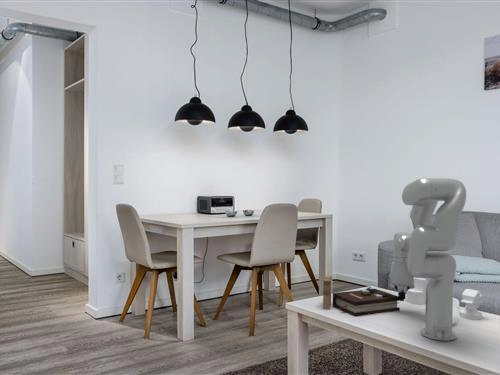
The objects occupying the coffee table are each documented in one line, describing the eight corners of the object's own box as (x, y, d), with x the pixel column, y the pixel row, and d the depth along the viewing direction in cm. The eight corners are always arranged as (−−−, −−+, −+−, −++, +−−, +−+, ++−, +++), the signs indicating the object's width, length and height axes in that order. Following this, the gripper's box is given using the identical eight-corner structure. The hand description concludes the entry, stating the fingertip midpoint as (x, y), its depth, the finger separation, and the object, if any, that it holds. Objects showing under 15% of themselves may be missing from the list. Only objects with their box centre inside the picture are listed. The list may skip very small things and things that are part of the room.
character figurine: (485, 317, 193) (486, 290, 193) (474, 321, 187) (475, 293, 187) (466, 313, 200) (466, 286, 200) (454, 316, 194) (455, 289, 194)
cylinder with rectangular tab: (403, 301, 218) (403, 277, 218) (411, 298, 224) (412, 275, 224) (420, 305, 211) (420, 280, 211) (429, 302, 217) (429, 278, 217)
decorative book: (327, 291, 208) (377, 286, 220) (326, 307, 208) (377, 301, 220) (352, 301, 190) (405, 295, 202) (352, 318, 190) (405, 311, 202)
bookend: (330, 309, 202) (330, 281, 202) (323, 308, 203) (323, 280, 203) (331, 303, 213) (332, 276, 213) (324, 302, 214) (325, 276, 214)
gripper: (418, 259, 202) (418, 299, 202) (384, 258, 206) (384, 297, 206) (421, 262, 195) (420, 304, 195) (385, 260, 198) (385, 301, 198)
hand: (401, 300), depth 200 cm, fingers closed
